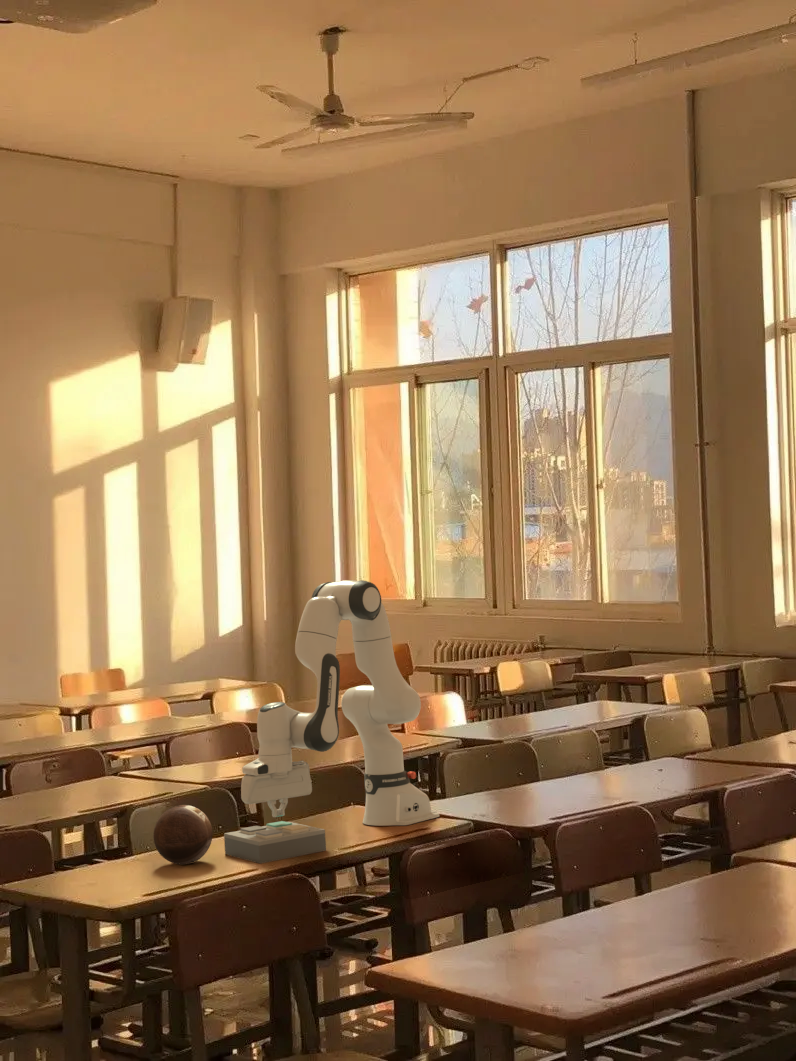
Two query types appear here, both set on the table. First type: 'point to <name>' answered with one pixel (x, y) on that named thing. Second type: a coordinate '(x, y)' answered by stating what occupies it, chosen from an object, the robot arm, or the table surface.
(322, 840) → the keypad
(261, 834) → the key
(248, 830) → the key
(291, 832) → the key
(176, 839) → the wooden sphere
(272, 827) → the key
